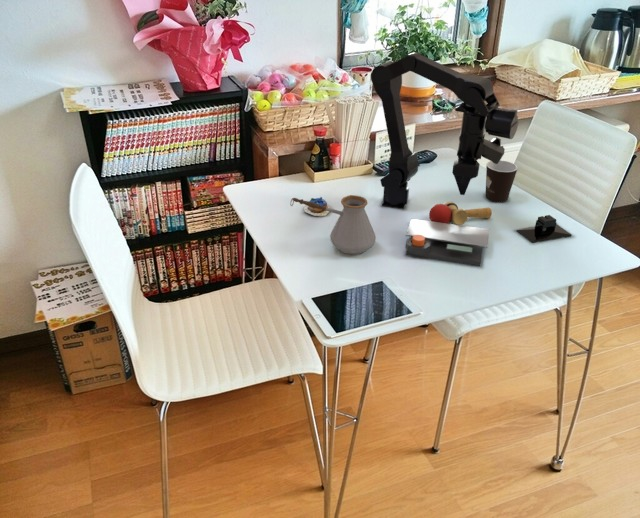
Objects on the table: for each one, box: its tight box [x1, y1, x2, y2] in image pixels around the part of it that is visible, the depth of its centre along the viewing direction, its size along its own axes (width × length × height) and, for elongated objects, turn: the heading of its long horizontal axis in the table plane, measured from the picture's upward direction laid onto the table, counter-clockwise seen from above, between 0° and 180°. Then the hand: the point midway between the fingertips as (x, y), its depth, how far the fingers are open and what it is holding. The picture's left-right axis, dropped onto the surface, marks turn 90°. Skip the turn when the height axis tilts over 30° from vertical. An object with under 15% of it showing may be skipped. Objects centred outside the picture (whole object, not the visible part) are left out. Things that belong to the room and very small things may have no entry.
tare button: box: [412, 235, 425, 246], centre depth 146 cm, size 3×3×2 cm
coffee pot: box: [289, 194, 377, 255], centre depth 145 cm, size 21×12×15 cm, turn 101°
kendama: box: [428, 201, 493, 226], centre depth 161 cm, size 8×6×18 cm
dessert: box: [303, 196, 331, 217], centre depth 167 cm, size 8×7×6 cm
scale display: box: [446, 244, 472, 253], centre depth 144 cm, size 6×2×1 cm, turn 73°
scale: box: [404, 237, 484, 267], centre depth 149 cm, size 18×15×3 cm
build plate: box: [516, 214, 573, 244], centre depth 155 cm, size 12×7×5 cm, turn 109°
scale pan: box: [405, 218, 490, 248], centre depth 150 cm, size 20×9×1 cm, turn 73°
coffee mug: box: [484, 159, 519, 203], centre depth 173 cm, size 12×9×10 cm
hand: (463, 187), depth 157 cm, fingers open, 9 cm apart
